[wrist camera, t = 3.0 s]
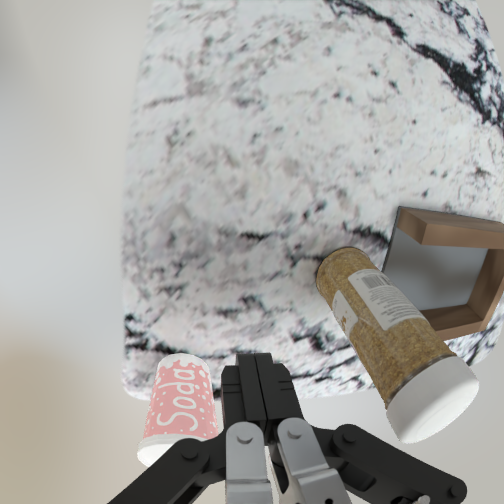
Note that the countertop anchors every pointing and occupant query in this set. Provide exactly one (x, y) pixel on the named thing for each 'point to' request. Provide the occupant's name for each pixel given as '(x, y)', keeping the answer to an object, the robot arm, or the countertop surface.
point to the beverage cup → (178, 406)
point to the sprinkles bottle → (396, 347)
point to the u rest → (448, 268)
